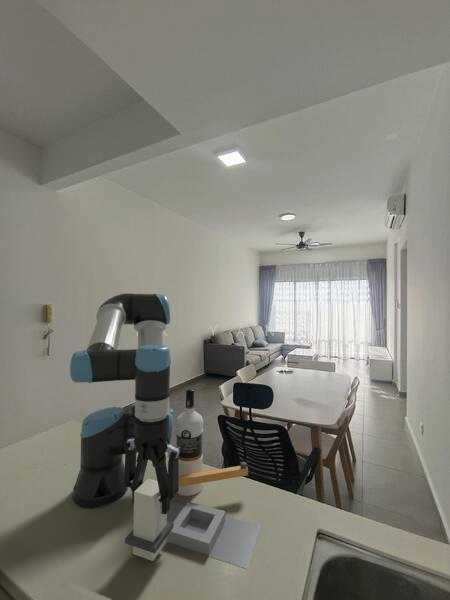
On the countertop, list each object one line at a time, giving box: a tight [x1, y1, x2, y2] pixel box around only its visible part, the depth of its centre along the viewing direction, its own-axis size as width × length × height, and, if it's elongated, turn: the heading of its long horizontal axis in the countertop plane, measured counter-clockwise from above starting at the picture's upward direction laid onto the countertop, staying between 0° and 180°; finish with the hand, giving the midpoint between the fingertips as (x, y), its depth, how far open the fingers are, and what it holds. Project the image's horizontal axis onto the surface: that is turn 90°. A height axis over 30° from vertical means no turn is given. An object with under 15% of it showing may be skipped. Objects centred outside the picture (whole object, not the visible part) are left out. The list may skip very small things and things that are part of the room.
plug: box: [124, 478, 174, 562], centre depth 62 cm, size 7×7×13 cm
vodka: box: [175, 388, 205, 497], centre depth 86 cm, size 9×9×30 cm
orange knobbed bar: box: [179, 461, 249, 487], centre depth 80 cm, size 26×3×3 cm, turn 107°
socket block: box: [165, 500, 262, 570], centre depth 69 cm, size 28×12×6 cm, turn 70°
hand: (150, 523), depth 62 cm, fingers closed on plug, 5 cm apart
